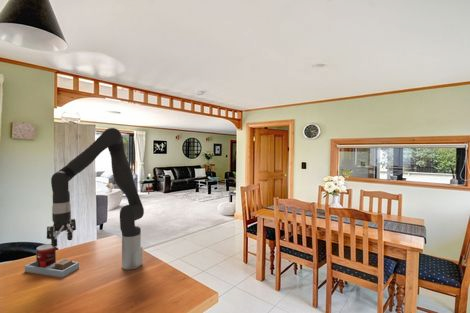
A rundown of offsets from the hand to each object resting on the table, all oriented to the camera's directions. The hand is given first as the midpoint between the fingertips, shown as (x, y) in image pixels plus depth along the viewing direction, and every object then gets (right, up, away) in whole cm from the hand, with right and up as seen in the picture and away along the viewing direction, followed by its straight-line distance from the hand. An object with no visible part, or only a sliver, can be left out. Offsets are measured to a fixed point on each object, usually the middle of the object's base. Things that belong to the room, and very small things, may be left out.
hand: (62, 243), depth 122 cm
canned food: (-12, -15, +5) cm, 20 cm away
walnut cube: (-1, -15, +2) cm, 15 cm away
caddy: (-7, -15, +4) cm, 16 cm away
